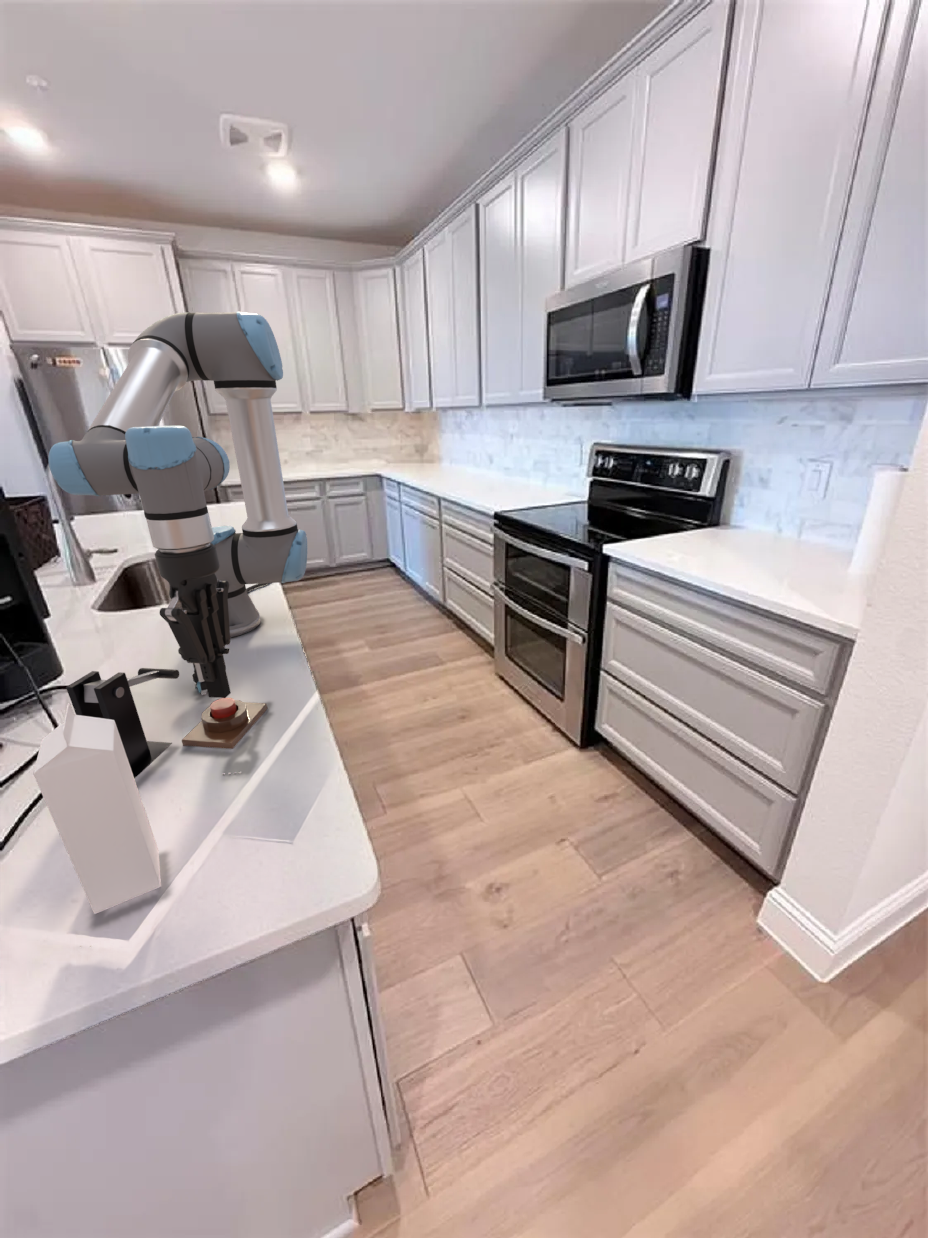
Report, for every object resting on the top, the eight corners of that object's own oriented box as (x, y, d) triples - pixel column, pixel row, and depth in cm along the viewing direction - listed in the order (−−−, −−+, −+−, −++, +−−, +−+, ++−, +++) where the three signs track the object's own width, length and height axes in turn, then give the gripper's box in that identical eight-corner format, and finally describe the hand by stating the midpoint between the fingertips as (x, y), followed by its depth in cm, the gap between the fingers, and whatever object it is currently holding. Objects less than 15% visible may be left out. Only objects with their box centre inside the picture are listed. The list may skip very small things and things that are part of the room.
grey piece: (221, 698, 91) (209, 648, 87) (188, 705, 89) (174, 654, 85) (221, 681, 96) (210, 633, 93) (190, 687, 95) (178, 639, 91)
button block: (224, 711, 87) (220, 691, 85) (268, 714, 86) (264, 693, 84) (184, 752, 77) (178, 729, 75) (234, 755, 76) (228, 733, 74)
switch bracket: (126, 745, 78) (98, 661, 73) (174, 749, 77) (149, 663, 72) (73, 791, 69) (35, 698, 64) (126, 795, 68) (93, 701, 63)
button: (220, 706, 82) (218, 696, 81) (241, 707, 81) (239, 698, 81) (207, 718, 78) (204, 709, 78) (229, 720, 78) (226, 710, 77)
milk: (161, 856, 59) (107, 691, 50) (164, 895, 54) (105, 721, 46) (98, 880, 56) (30, 710, 48) (95, 924, 51) (19, 743, 43)
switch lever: (144, 679, 80) (144, 664, 80) (179, 680, 80) (179, 665, 79) (71, 701, 67) (70, 684, 67) (112, 704, 67) (111, 686, 66)
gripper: (189, 534, 76) (221, 673, 85) (124, 558, 64) (170, 717, 73) (236, 535, 75) (263, 675, 84) (179, 559, 63) (218, 720, 72)
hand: (220, 694), depth 78 cm, fingers closed
